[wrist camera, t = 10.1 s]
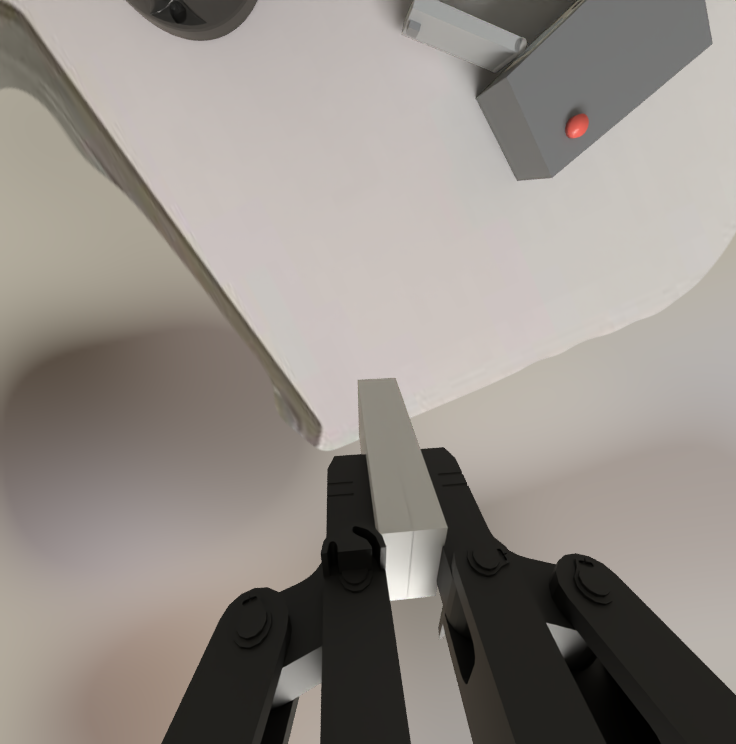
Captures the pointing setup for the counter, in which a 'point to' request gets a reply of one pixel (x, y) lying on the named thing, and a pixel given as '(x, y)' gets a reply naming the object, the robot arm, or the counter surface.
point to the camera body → (588, 77)
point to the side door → (462, 35)
